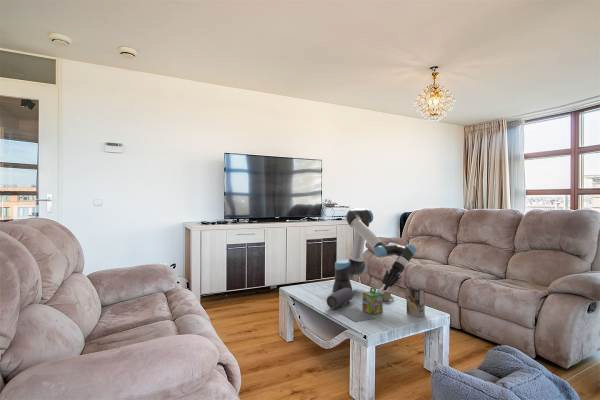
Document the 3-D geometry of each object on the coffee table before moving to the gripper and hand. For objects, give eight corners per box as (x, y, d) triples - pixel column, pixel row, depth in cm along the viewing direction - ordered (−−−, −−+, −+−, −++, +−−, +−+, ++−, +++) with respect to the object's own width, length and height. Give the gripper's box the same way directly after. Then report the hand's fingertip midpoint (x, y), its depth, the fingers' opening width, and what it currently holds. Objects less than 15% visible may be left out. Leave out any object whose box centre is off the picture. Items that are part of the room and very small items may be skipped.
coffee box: (425, 315, 193) (425, 288, 194) (420, 318, 189) (419, 291, 189) (411, 311, 200) (411, 286, 200) (406, 314, 196) (405, 287, 196)
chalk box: (362, 310, 203) (361, 287, 202) (373, 307, 207) (372, 285, 207) (372, 315, 195) (371, 291, 194) (383, 312, 199) (382, 288, 199)
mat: (337, 311, 202) (337, 310, 202) (355, 308, 208) (355, 307, 208) (355, 322, 183) (355, 321, 183) (375, 318, 189) (375, 317, 189)
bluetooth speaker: (342, 299, 225) (342, 285, 225) (354, 302, 220) (354, 287, 220) (325, 309, 207) (325, 293, 207) (338, 311, 201) (338, 295, 201)
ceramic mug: (382, 302, 220) (382, 290, 220) (376, 298, 227) (376, 287, 228) (396, 301, 222) (396, 290, 222) (389, 297, 230) (390, 287, 230)
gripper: (410, 270, 205) (390, 299, 198) (396, 266, 217) (376, 294, 210) (404, 262, 203) (383, 292, 196) (390, 259, 215) (370, 287, 208)
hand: (380, 293), depth 203 cm, fingers closed
